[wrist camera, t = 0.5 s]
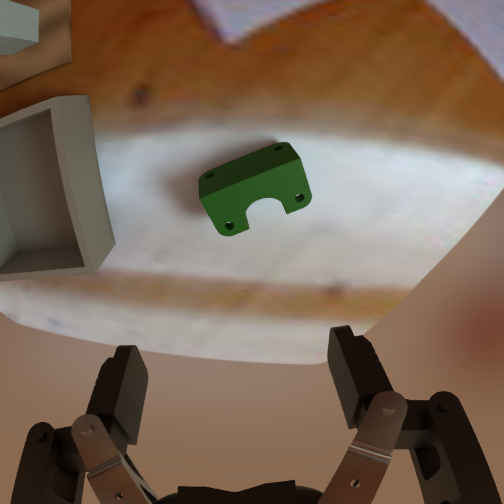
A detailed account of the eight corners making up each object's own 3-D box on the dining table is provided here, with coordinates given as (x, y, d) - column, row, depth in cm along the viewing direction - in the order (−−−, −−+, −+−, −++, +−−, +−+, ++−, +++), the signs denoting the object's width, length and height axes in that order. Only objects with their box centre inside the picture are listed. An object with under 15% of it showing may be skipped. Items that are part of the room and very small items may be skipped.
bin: (-11, 131, 30) (-47, 142, 23) (88, 95, 31) (57, 96, 24) (19, 255, 39) (-7, 281, 32) (115, 243, 40) (95, 273, 33)
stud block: (-6, 12, 22) (-32, 7, 16) (72, -27, 22) (50, -41, 16) (-6, 95, 28) (-34, 99, 22) (71, 62, 28) (46, 58, 23)
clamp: (230, 194, 43) (209, 241, 37) (212, 157, 39) (185, 201, 33) (317, 180, 38) (310, 230, 32) (304, 137, 34) (295, 182, 28)
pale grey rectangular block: (11, 24, 23) (-40, 16, 13) (39, 10, 23) (-11, -5, 13) (10, 55, 25) (-43, 53, 15) (38, 42, 25) (-14, 33, 16)
